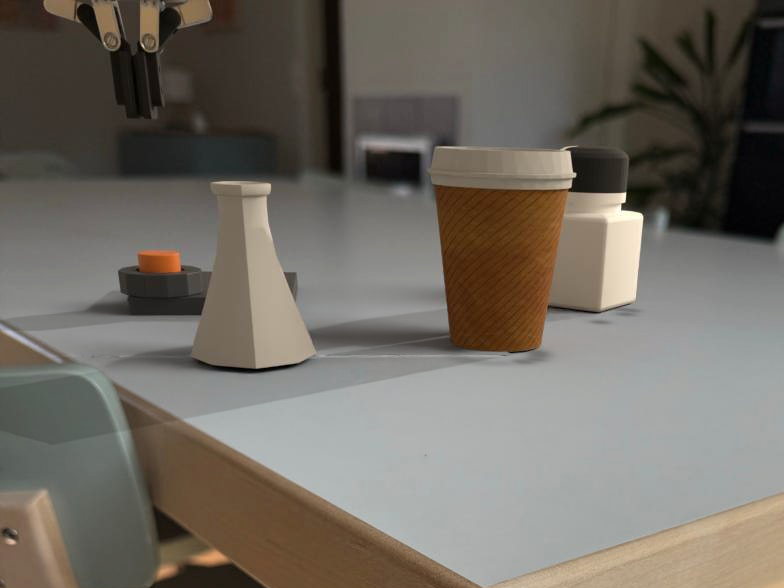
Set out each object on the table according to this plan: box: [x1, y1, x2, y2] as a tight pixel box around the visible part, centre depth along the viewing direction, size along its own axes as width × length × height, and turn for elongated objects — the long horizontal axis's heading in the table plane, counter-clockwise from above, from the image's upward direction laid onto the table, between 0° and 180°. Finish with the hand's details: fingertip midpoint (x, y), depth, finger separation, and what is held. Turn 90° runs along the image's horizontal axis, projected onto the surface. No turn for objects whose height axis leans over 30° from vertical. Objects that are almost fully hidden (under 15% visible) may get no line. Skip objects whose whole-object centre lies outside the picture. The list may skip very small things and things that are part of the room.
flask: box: [190, 180, 317, 369], centre depth 59 cm, size 7×7×10 cm
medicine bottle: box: [548, 145, 644, 313], centre depth 81 cm, size 7×7×12 cm
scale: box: [117, 264, 299, 317], centre depth 79 cm, size 13×14×3 cm
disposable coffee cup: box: [426, 145, 576, 353], centre depth 65 cm, size 10×10×12 cm
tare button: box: [137, 249, 181, 273], centre depth 74 cm, size 3×3×2 cm
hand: (142, 118), depth 69 cm, fingers closed
